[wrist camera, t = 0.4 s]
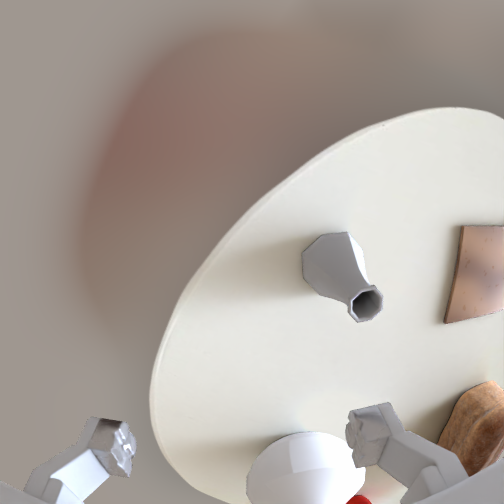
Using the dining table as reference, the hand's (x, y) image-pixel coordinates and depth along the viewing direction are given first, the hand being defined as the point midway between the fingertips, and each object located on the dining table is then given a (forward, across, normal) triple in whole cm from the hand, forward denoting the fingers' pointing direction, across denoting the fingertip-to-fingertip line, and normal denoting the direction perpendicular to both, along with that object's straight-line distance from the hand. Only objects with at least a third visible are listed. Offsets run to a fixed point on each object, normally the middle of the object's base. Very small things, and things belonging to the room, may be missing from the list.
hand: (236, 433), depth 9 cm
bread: (+24, -43, +43) cm, 65 cm away
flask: (+23, -10, +3) cm, 26 cm away
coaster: (+23, -35, +6) cm, 42 cm away
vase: (+24, -7, +36) cm, 43 cm away
